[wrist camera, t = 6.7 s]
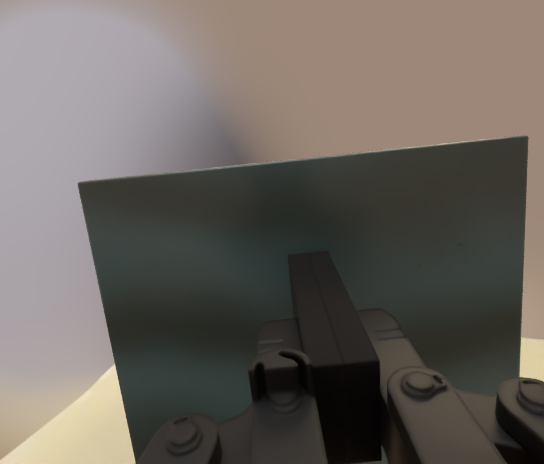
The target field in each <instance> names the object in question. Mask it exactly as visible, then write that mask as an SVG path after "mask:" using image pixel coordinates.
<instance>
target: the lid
mask: <svg viewBox="0 0 544 464" xmlns="http://www.w3.org/2000/svg"><path fill="white" fill-rule="evenodd" d="M527 160H528V136H525V135H524V136H511V137H501V138H491V139H482V140H472V141H463V142H454V143H444V144H434V145H424V146H415V147H405V148H395V149H387V150H376V151H367V152H357V153H348V154H338V155H329V156H319V157H311V158H310V157H309V158H300V159H291V160H281V161H271V162H262V163H253V164H243V165H233V166H223V167H214V168H205V169H195V170H185V171H176V172H166V173H157V174H147V175H137V176H128V177H118V178H109V179H100V180H90V181H83V182H79V183H78V188H79V193H80V198H81V203H82V208H83V212H84V217H85V222H86V227H87V231H88V236H89V241H90V246H91V251H92V256H93V260H94V265H95V269H96V274H97V279H98V284H99V289H100V294H101V299H102V303H103V308H104V313H105V318H106V323H107V327H108V332H109V337H110V342H111V346H112V351H113V356H114V360H115V366H116V370H117V375H118V380H119V385H120V390H121V394H122V399H123V404H124V409H125V414H126V418H127V423H128V428H129V433H130V437H131V442H132V447H133V452H134V457H135V461H136V463H137V461H138V460H139V458H140V456H141V455H142V453H143V452H144V450H145V448H146V447H147V445H148V443H149V442H150V440H151V438H152V437H153V435H154V434H155V433H156V432H157V430H158V429H159V428H160V427H161V426H162V425H163V424H165V423H166V422H168V421H169V420H171V419H172V418H174V417H177V416H179V415H182V414H185V413H197V412H198V413H202V414H205V415H208V416H210V417H211V418H212V419H213V420H214V421H215V422H216V424H217V423H220V422H222V421H225V420H228V419H230V418H232V417H234V416H236V415H239V414H240V413H241V412H243V411H244V410H245V409H247V408H248V406H249V405H250V404H251V403H252V395H251V388H250V381H249V375H248V369H249V366H250V363H251V362H252V361H253V360H254V359H255V358H256V357H257V332H258V330H259V329H260V327H261V326H262V324H263V323H264V321H273V320H282V319H292V318H294V316H293V306H292V295H291V285H290V274H289V264H288V255H290V254H300V253H309V252H319V251H328V252H329V255H330V257H331V259H332V261H333V263H334V265H335V267H336V269H337V271H338V273H339V276H340V278H341V280H342V282H343V284H344V286H345V288H346V290H347V292H348V294H349V297H350V299H351V301H352V303H353V305H354V307H355V309H356V311H357V310H367V309H377V308H382V309H383V310H385V311H386V312H388V313H390V314H391V315H393V316H394V317H395V319H396V321H397V322H398V324H399V325H400V328H401V329H402V330H403V331H404V333H405V334H406V338H408V339H409V341H410V342H411V344H412V345H413V347H414V348H415V350H416V351H417V353H418V355H419V356H420V358H421V359H422V361H423V362H424V364H425V365H426V367H427V368H429V369H433V370H435V371H437V372H438V373H440V374H442V375H444V376H445V377H446V378H447V379H448V380H449V381H450V382H451V383H452V385H453V386H454V388H455V389H458V390H462V391H467V392H472V393H480V394H487V395H495V396H497V390H498V388H499V385H500V383H502V382H504V381H506V380H507V379H511V378H519V373H520V347H521V319H522V293H523V265H524V240H525V212H526V186H527ZM381 449H382V461H373V462H363V463H353V464H388V460H387V457H386V455H385V452H384V449H383V446H382V444H381Z"/></svg>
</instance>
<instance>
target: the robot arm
mask: <svg viewBox="0 0 544 464" xmlns="http://www.w3.org/2000/svg"><path fill="white" fill-rule="evenodd" d="M288 264H289V274H290V285H291V295H292V306H293V316H294V318H292V319H282V320H273V321H264V323H263V324H262V326H261V327H260V329H259V330H258V332H257V357H256V358H255V359H254V360H253V361H252V362H251V363H250V366H249V369H248V375H249V381H250V388H251V395H252V403H251V404H250V405H249V406H248V408H247V409H245V410H244V411H243V412H241V413H240V414H239V415H236V416H234V417H232V418H230V419H228V420H225V421H222V422H220V423H217V424H216V422H215V421H214V420H213V419H212V418H211V417H210V416H208V415H205V414H202V413H198V412H197V413H185V414H182V415H179V416H177V417H174V418H172V419H171V420H169V421H168V422H166V423H165V424H163V425H162V426H161V427H160V428H159V429H158V430H157V432H156V433H155V434H154V435H153V437H152V438H151V440H150V442H149V443H148V445H147V447H146V448H145V450H144V452H143V453H142V455H141V456H140V458H139V460H138V461H137V463H136V464H353V463H363V462H373V461H382V449H381V444H382V446H383V449H384V452H385V455H386V457H387V460H388V464H544V382H543V381H540V380H537V379H531V378H523V377H519V378H511V379H507V380H506V381H504V382H502V383H500V385H499V388H498V390H497V396H495V395H487V394H480V393H472V392H467V391H462V390H458V389H455V388H454V386H453V385H452V383H451V382H450V381H449V380H448V379H447V378H446V377H445V376H444V375H442V374H440V373H438V372H437V371H435V370H433V369H429V368H427V367H426V365H425V364H424V362H423V361H422V359H421V358H420V356H419V355H418V353H417V351H416V350H415V348H414V347H413V345H412V344H411V342H410V341H409V339H408V338H406V334H405V333H404V331H403V330H402V329H401V328H400V325H399V324H398V322H397V321H396V319H395V317H394V316H393V315H391V314H390V313H388V312H386V311H385V310H383V309H382V308H377V309H367V310H357V311H356V309H355V307H354V305H353V303H352V301H351V299H350V297H349V294H348V292H347V290H346V288H345V286H344V284H343V282H342V280H341V278H340V276H339V273H338V271H337V269H336V267H335V265H334V263H333V261H332V259H331V257H330V255H329V252H328V251H319V252H309V253H300V254H290V255H288Z"/></svg>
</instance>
